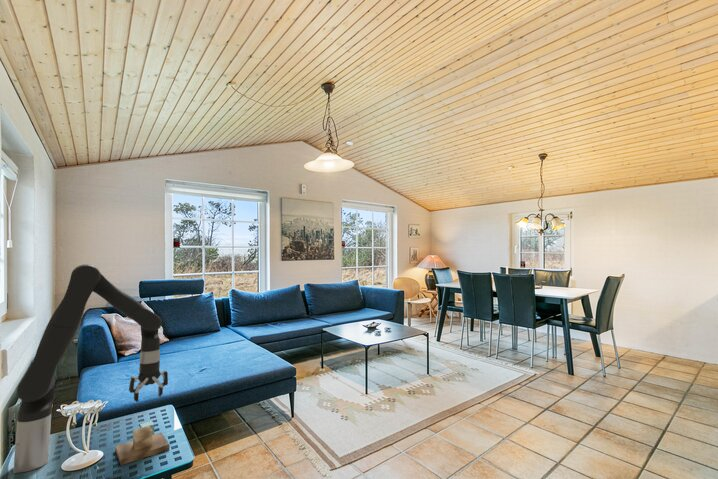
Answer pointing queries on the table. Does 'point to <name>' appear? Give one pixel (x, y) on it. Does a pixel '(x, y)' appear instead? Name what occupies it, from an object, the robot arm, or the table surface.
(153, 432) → the teal block
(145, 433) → the oak block
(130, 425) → the table surface
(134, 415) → the table surface
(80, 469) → the table surface
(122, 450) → the walnut board
